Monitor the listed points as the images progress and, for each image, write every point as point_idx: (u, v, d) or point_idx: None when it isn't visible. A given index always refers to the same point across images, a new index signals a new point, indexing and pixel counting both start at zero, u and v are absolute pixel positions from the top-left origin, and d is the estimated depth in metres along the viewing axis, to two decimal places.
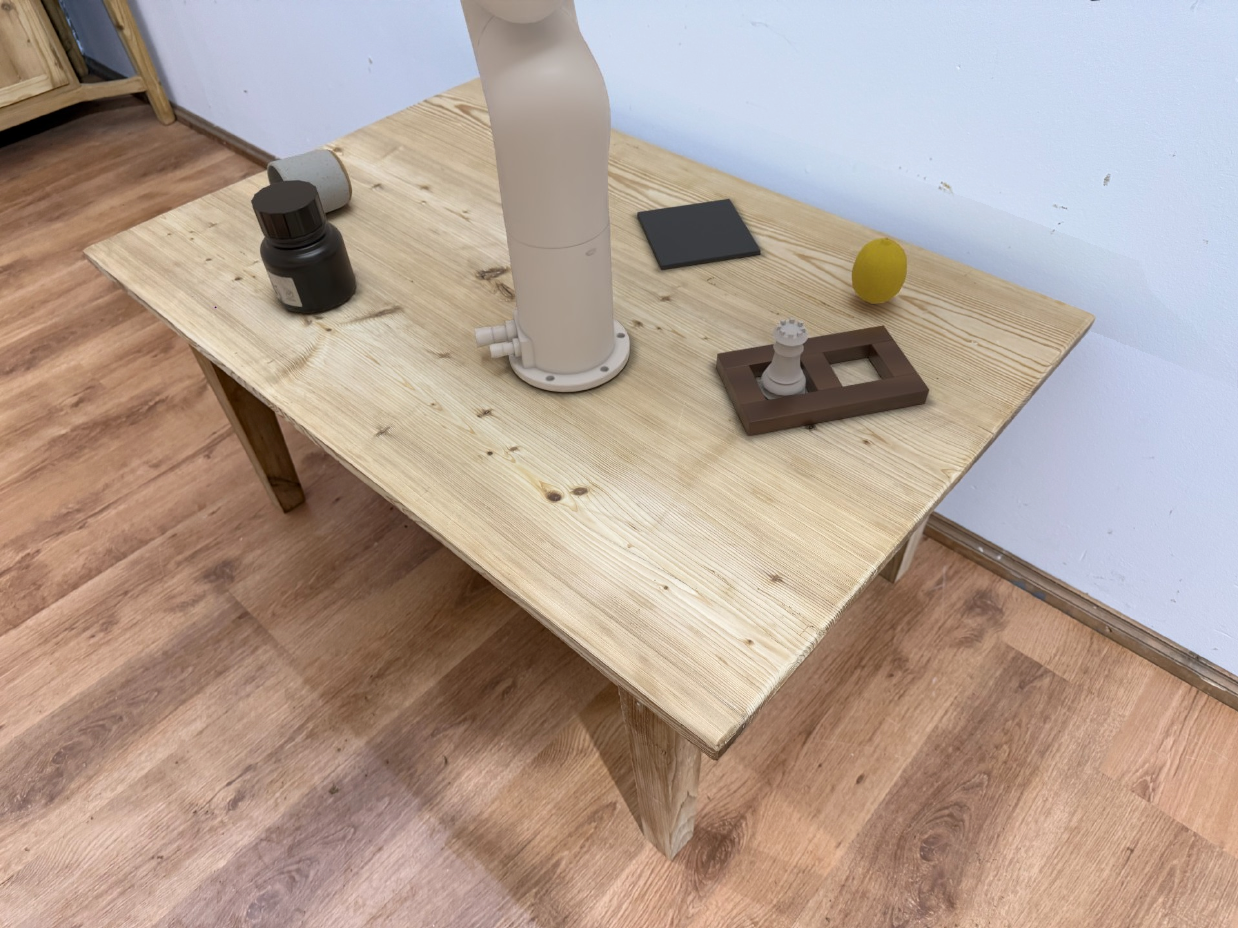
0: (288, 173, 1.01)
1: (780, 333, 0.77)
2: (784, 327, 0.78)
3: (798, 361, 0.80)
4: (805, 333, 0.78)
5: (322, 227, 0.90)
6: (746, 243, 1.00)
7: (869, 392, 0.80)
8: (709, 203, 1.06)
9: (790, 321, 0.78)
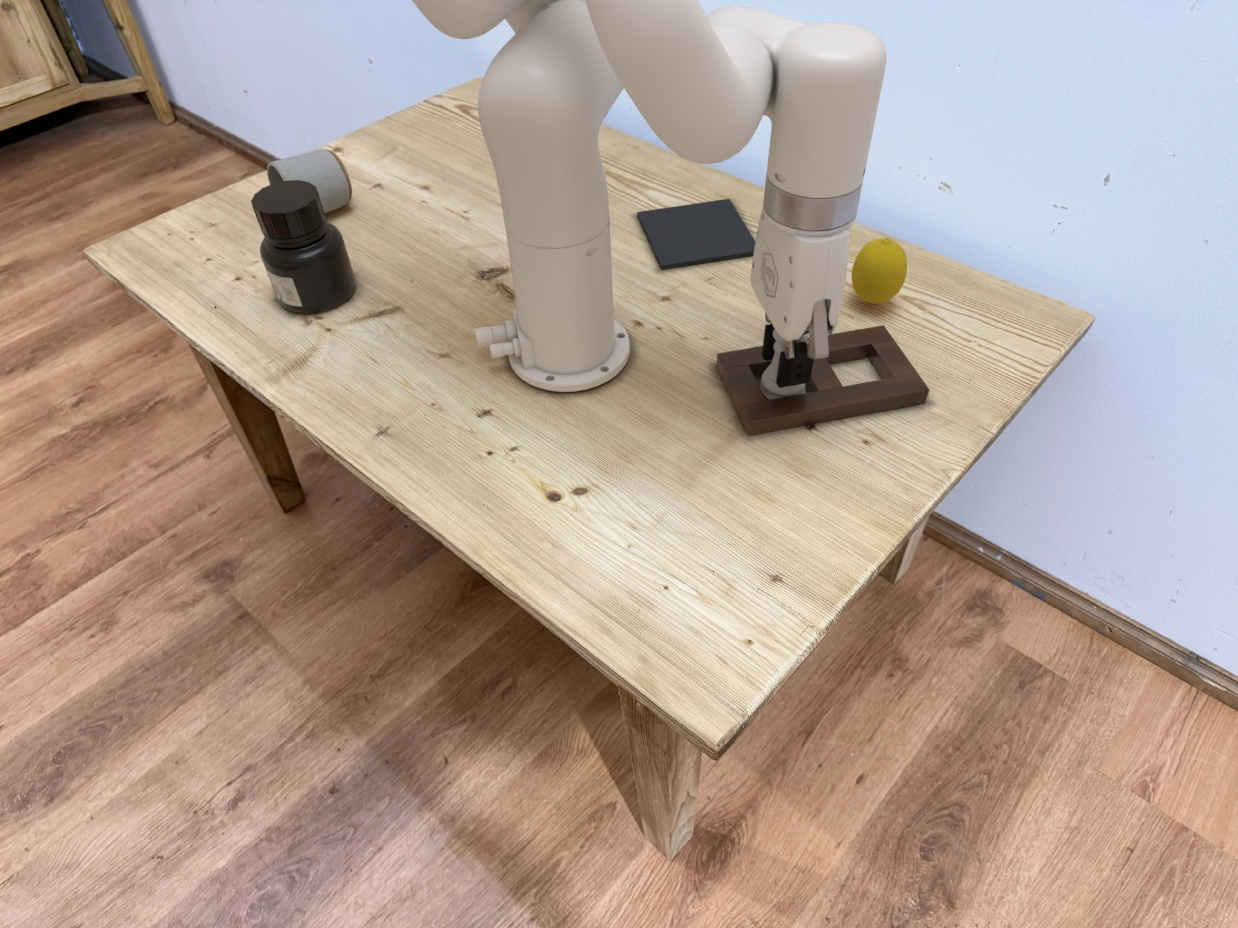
0: (288, 173, 1.01)
1: None
2: None
3: None
4: None
5: (322, 227, 0.90)
6: (746, 243, 1.00)
7: (869, 392, 0.80)
8: (709, 203, 1.06)
9: None
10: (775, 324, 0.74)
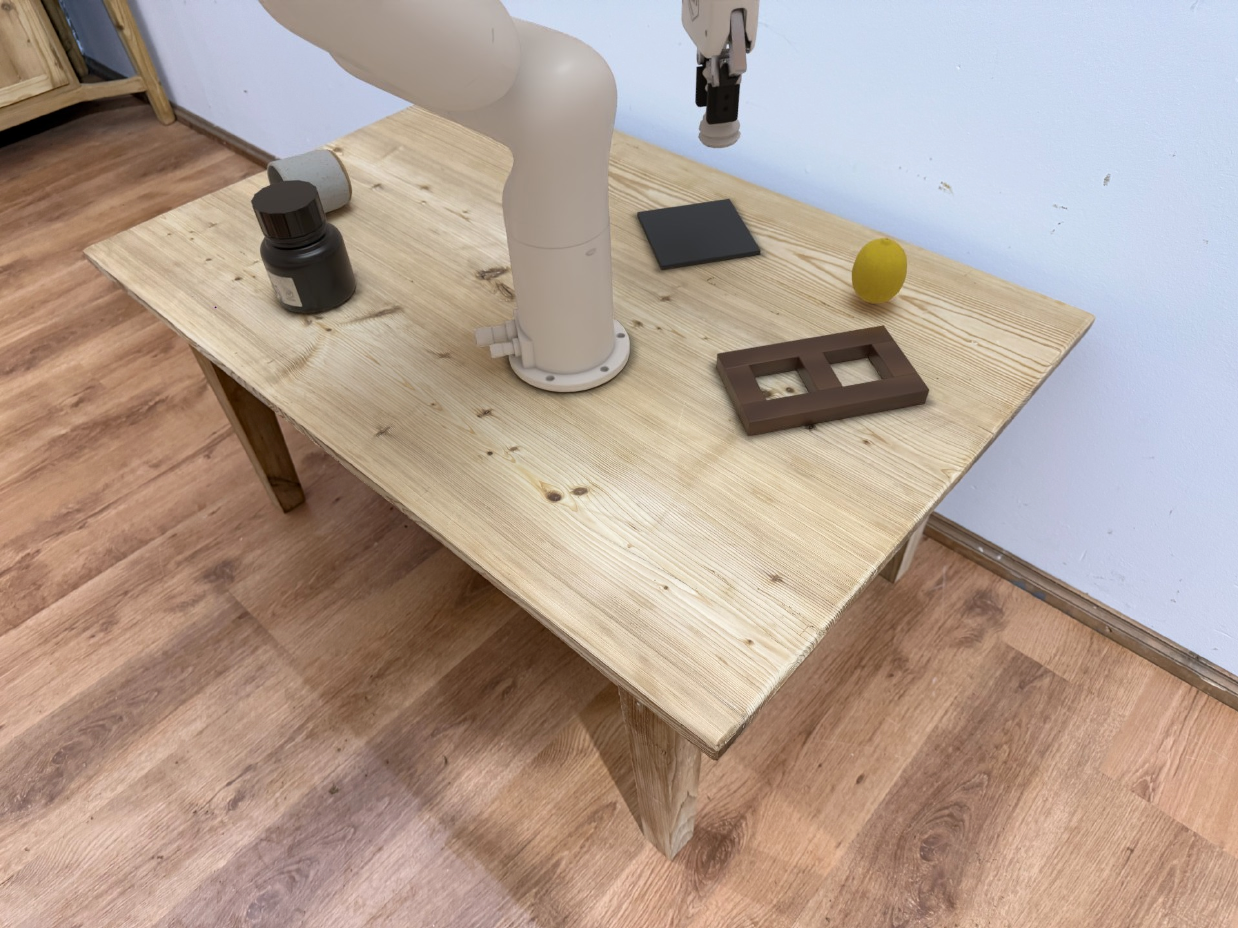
0: (288, 173, 1.01)
1: (708, 68, 0.84)
2: None
3: None
4: None
5: (322, 227, 0.90)
6: (746, 243, 1.00)
7: (869, 392, 0.80)
8: (709, 203, 1.06)
9: None
10: (699, 45, 0.80)
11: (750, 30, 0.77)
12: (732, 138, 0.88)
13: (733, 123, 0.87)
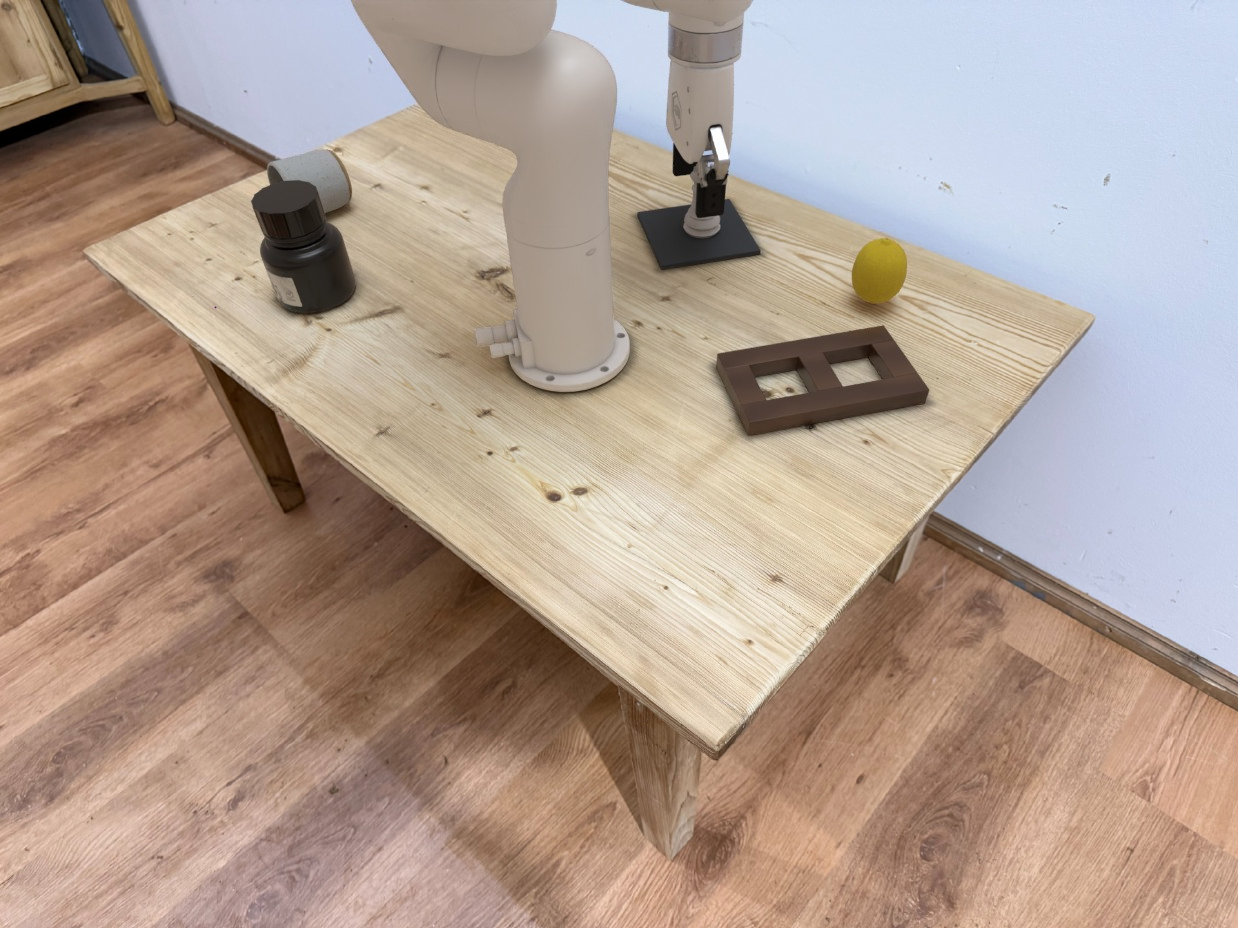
0: (288, 173, 1.01)
1: (695, 173, 0.96)
2: None
3: None
4: None
5: (322, 227, 0.90)
6: (746, 243, 1.00)
7: (869, 392, 0.80)
8: None
9: None
10: (681, 152, 0.92)
11: (725, 141, 0.89)
12: (713, 230, 1.01)
13: (714, 218, 1.00)
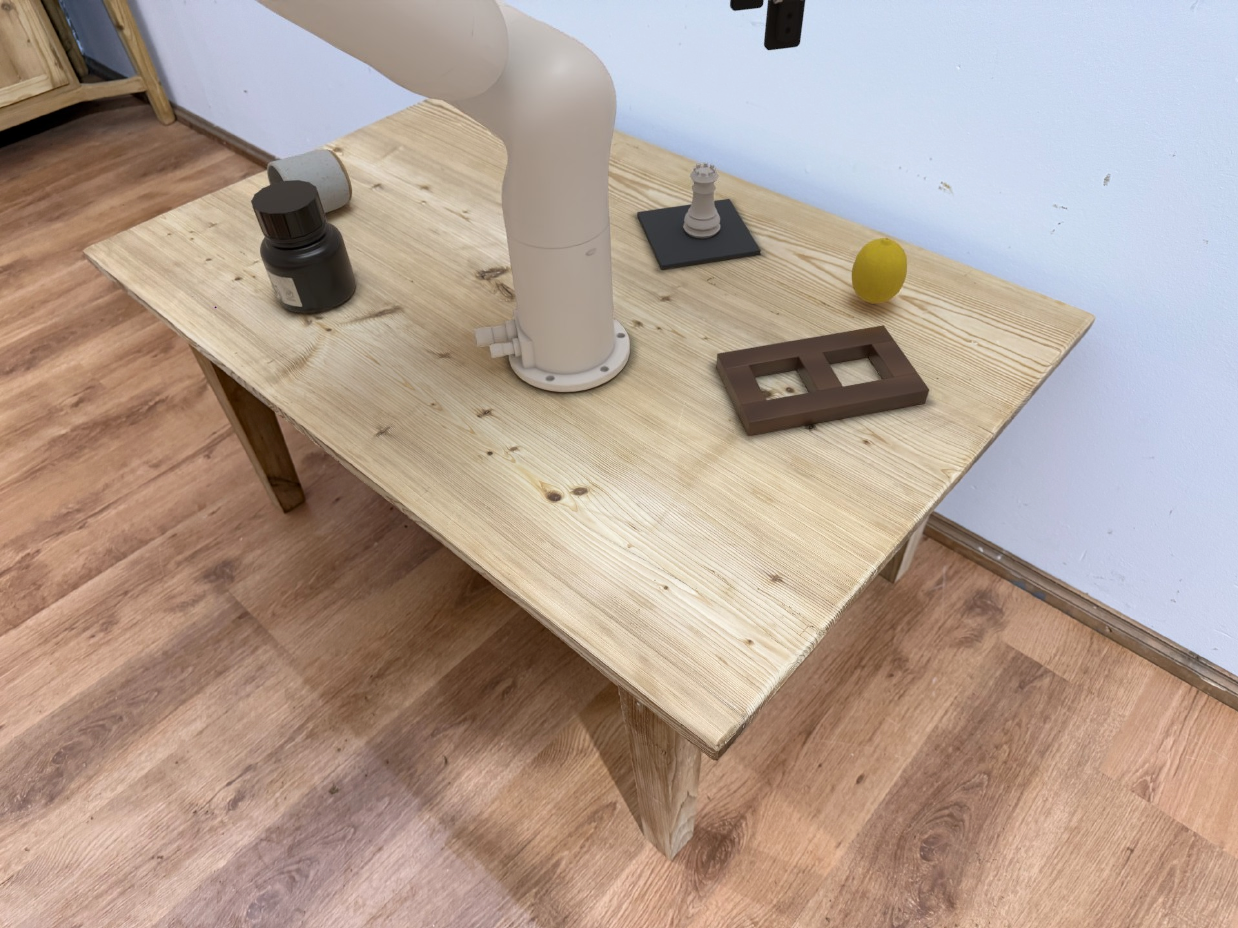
0: (288, 173, 1.01)
1: (695, 173, 0.96)
2: (699, 169, 0.97)
3: (712, 200, 0.99)
4: (715, 174, 0.97)
5: (322, 227, 0.90)
6: (746, 243, 1.00)
7: (869, 392, 0.80)
8: None
9: (704, 165, 0.97)
10: None
11: None
12: (713, 230, 1.01)
13: (714, 218, 1.00)
